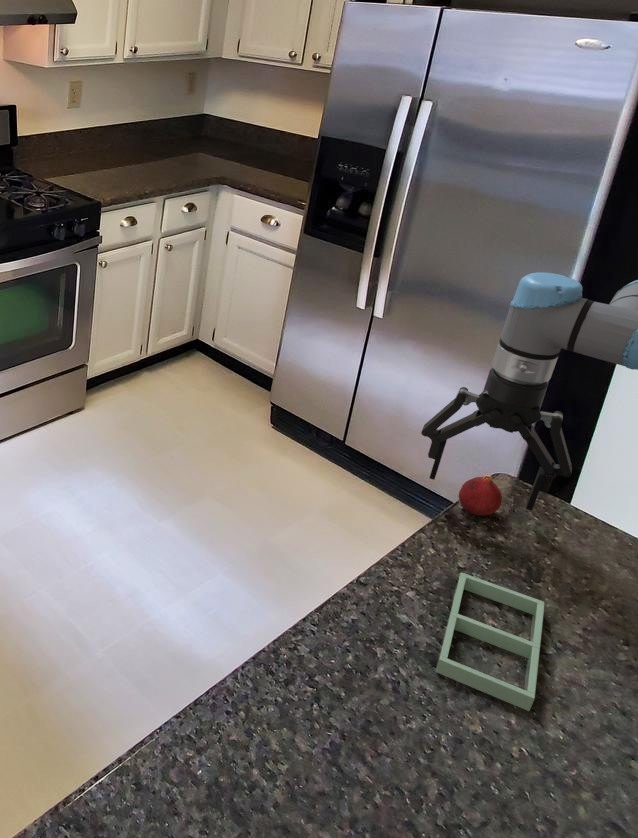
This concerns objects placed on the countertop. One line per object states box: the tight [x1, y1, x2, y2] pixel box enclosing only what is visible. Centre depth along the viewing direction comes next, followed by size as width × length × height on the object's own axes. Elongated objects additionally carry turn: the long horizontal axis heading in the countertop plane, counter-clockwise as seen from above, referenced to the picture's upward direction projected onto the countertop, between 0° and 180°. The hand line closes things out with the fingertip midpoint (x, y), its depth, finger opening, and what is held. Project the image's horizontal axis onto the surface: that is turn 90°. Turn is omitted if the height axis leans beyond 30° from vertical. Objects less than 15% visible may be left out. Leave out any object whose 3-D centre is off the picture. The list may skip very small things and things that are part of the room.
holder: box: [435, 572, 545, 712], centre depth 105 cm, size 19×10×3 cm, turn 144°
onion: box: [458, 474, 503, 517], centre depth 128 cm, size 6×6×8 cm
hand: (479, 490), depth 128 cm, fingers open, 13 cm apart
